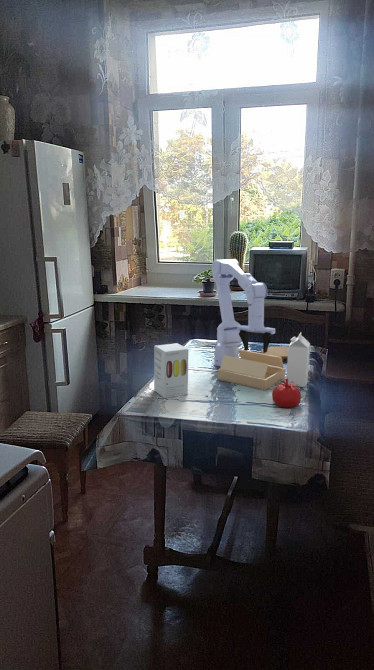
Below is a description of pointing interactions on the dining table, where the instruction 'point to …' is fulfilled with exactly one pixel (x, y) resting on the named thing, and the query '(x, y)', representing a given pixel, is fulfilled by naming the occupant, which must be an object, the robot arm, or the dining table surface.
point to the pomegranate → (286, 395)
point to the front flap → (244, 366)
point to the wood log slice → (278, 352)
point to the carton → (254, 378)
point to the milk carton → (298, 361)
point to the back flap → (261, 358)
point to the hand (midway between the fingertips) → (255, 351)
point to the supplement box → (171, 370)
